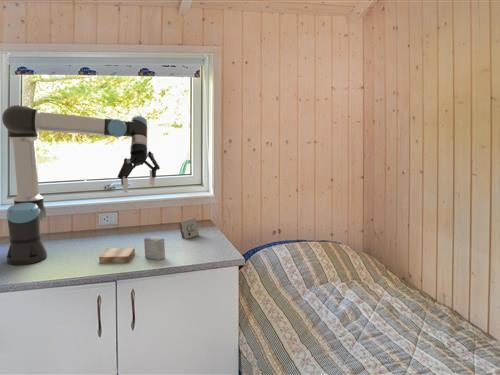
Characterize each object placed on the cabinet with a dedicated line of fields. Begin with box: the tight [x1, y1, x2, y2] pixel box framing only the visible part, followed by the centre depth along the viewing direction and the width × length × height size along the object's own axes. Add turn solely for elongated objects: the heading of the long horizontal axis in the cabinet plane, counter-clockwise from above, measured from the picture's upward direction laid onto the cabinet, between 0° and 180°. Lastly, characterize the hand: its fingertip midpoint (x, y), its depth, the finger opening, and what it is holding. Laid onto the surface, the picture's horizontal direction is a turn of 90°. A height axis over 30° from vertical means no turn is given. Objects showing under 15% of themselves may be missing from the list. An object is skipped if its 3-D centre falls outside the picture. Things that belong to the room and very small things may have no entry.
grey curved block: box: [143, 235, 166, 261], centre depth 178 cm, size 8×4×9 cm, turn 58°
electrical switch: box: [178, 217, 200, 240], centre depth 211 cm, size 9×5×9 cm, turn 141°
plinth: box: [98, 247, 136, 264], centre depth 178 cm, size 12×12×2 cm
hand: (138, 188), depth 183 cm, fingers open, 13 cm apart
